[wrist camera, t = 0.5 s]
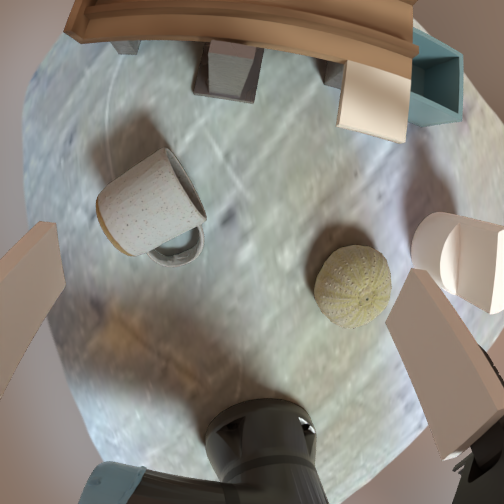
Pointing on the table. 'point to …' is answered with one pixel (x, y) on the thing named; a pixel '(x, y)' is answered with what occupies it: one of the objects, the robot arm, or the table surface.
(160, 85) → the table surface
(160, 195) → the ceramic mug
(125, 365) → the table surface
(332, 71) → the support blocks
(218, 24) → the wooden ramp track
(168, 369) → the table surface
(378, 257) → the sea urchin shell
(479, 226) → the cylinder with rectangular tab
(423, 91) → the open box
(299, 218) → the table surface
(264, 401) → the robot arm
